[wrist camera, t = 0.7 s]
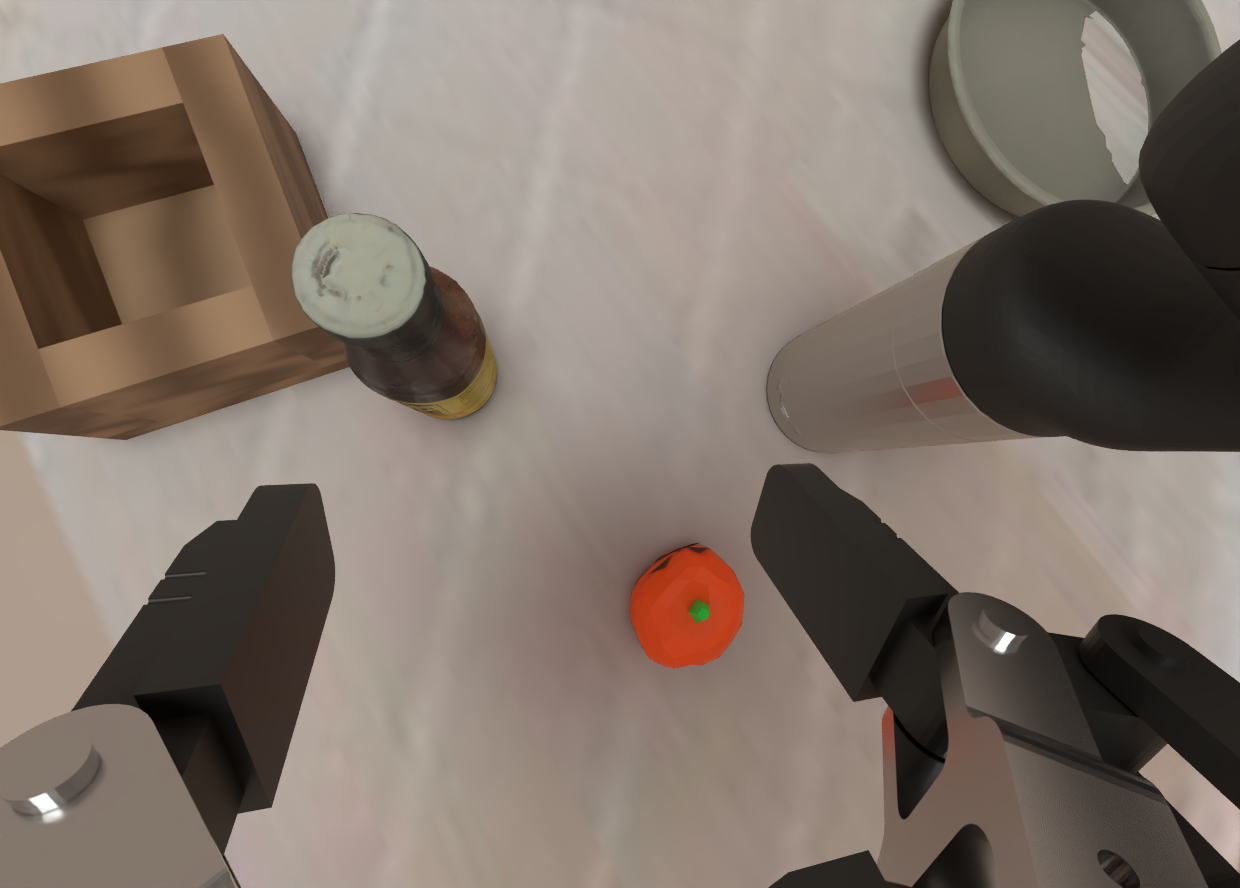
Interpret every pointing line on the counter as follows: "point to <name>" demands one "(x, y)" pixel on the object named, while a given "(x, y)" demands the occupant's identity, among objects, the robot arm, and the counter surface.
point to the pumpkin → (687, 607)
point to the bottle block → (150, 244)
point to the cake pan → (1052, 93)
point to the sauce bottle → (394, 315)
